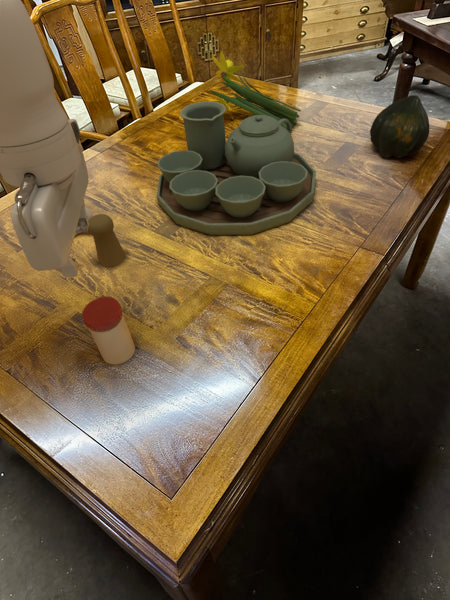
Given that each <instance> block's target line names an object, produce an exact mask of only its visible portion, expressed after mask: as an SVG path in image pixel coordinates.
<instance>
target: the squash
mask: <svg viewBox="0 0 450 600" xmlns="http://www.w3.org/2000/svg"><path fill="white" fill-rule="evenodd" d="M429 135H430V120H429V116H428V113H427V111H426V109H425V108H424V106H423V103H422V100H421V99H420V97H419V95H417V94H416V95H408V96H405V97H403V98H401V99H398V100H396V101H394V102H393V103H390V104H389V105H388V106H386V107H385V108H383V109H382V110H381V111H380V112H379V113H378V114H377V115H376V117H375V118H374V120H373V122H372V124H371V126H370V129H369V136H370V142H371V143H372V145H373V147H374V148H375V149H377V150H379V153H380V155H381V156H382V157H383V158H392V156H393V157H394V158H395V159H401V158H404V157H405V156H410V155H413V154H416V153H417V152H418V151H419V150H420V149H421V148H422V147H423V146H424V145H425V143H426V141H427V140H428V138H429Z"/></svg>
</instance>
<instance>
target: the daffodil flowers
mask: <svg viewBox="0 0 450 600" xmlns="http://www.w3.org/2000/svg"><path fill="white" fill-rule="evenodd" d="M211 58H212V61H213V63H214V64H215V66H217V68H218V69H219V70H217V71H216V72H215V75H216V76H217V77H219V78H221V79H222V80H223V81H221V82H220V83H221V84H222V85H224V86H222V87H220V88H217V90H221V89H226V88H229V89H231V90H232V91H233V92H232V94H233V97H232V96H229V95H226V94H224V93H220V92H219V91H216V90H213V89H208V92H210V93H205V94H206V95H207V96H209V97H211V98H213V99H215V100H211V101H212V102H218V103H221V104H222V105H224V106H225V108H226V111H225V112H224V115H226V114H227V113H229V114H231V111H232V107H230V106H229V103H230V104H232V105H234V106H233V108H235V109H234V111H236V110H240V109H243V110H244V111H246V112H248V113H250V114H252V115H253V116H255V115H266V116H271V117H273V118H274V119H276V120H277V121H279V120H281V119H283V118H285V119H287V120H289V121H290V123H291V126H292V128H293V126H296V125H297V122H298V119H299V118H300V117H301V116H300V115H299V114H298V112H299V113H300V112H301V111H302V110H301V109H300V108H297V107H294V106H293V105H290V104H288V103H286V102H284V101H280V100H278V99H276V98H273V97H270V96H268V95H267V94H264V93H262V92H261V91H259V90H258V88H255V86H253V85H252V84H251V83H250V82H248V80H247V79H246V77H245V75H244V73H243V71H242V69H243V68H245V67H246V66H247V65H246V64H241V65H234V62H233V61H232V60H231V59H229V58H228V59H226V57H225V54H224V52H223V50H221V51H220V54H219V60H218V59H217V57H215V56H214V54H211ZM239 71H240V72H241V75H242V77H241V75H240V74H239ZM234 73H236V74H237V76H238V77H237V76H235V74H234ZM242 78H243V79H242ZM235 81H236V82H235ZM240 83H241V84H240ZM231 118H232V119H234V118H233V116H231ZM282 127H284V128H285V129H286V130H287V125H286V123H283V124H282Z"/></svg>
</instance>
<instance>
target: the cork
mask: <svg viewBox="0 0 450 600" xmlns="http://www.w3.org/2000/svg"><path fill="white" fill-rule="evenodd" d="M87 220H88V219H87ZM88 222H89V227H88V230H87V232H88V233H89V234H90V235H91V236H92V237H93V241H94V246H95V250H96V251H95V252H96V256H97V260H98V264H99V266H101V267H103V268H107V269H109V268H110V269H111V268H115V267H118V266H119V265H122V264H123V263H124V261H125V260H126V257H127V255H126V252H125V251H124V249H123V247H122V245H121V243H120V241H119V238H118V237H117V235H116V233H115V231H114V228H115V226H114V225H115V223H114V222H113V219H112V218H111V217H110V216H109V215H108V214H106V213H97V214H94V215H93V217H91V218H90V219H89V220H88Z"/></svg>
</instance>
